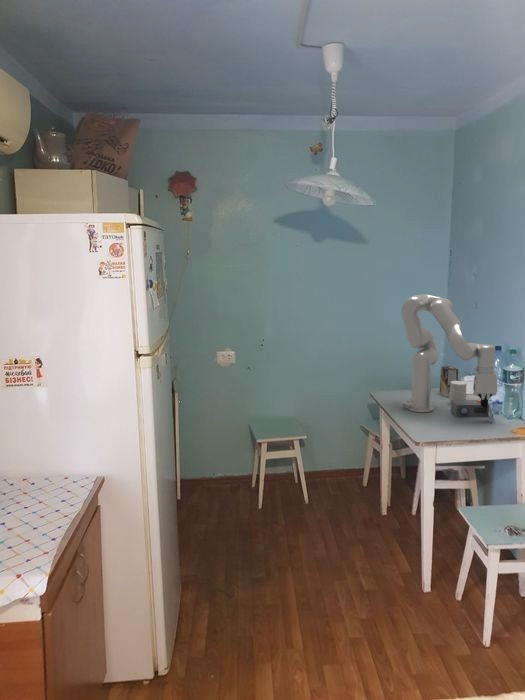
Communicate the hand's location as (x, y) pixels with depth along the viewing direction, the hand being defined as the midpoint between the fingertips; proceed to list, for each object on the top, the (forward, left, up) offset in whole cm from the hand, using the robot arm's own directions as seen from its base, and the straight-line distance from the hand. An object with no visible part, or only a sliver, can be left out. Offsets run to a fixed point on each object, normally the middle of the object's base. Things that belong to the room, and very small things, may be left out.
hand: (484, 406), depth 256 cm
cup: (-4, +28, -7) cm, 29 cm away
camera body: (-3, +11, -7) cm, 13 cm away
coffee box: (-4, +46, -7) cm, 47 cm away
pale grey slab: (+4, +1, -7) cm, 8 cm away
